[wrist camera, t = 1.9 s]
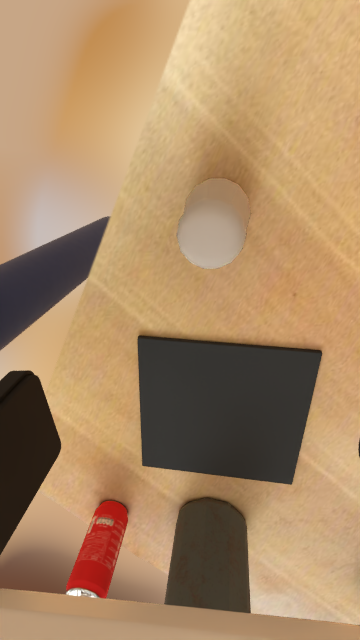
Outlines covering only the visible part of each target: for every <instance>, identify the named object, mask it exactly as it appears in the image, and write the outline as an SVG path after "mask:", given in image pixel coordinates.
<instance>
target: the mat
mask: <svg viewBox="0 0 360 640" xmlns="http://www.w3.org/2000/svg"><path fill="white" fill-rule="evenodd" d="M321 356H322V352H321V351H320V350H307V349H295V348H283V347H271V346H259V345H246V344H234V343H222V342H210V341H198V340H185V339H173V338H161V337H149V336H138V360H139V386H140V413H141V439H142V465H143V466H148V467H156V468H164V469H172V470H180V471H188V472H196V473H204V474H212V475H220V476H228V477H236V478H244V479H252V480H260V481H267V482H275V483H283V484H292V482H293V477H294V473H295V469H296V464H297V460H298V456H299V451H300V447H301V443H302V439H303V434H304V430H305V426H306V421H307V417H308V413H309V408H310V404H311V400H312V395H313V391H314V387H315V382H316V378H317V374H318V369H319V365H320V361H321Z"/></svg>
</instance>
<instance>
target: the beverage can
mask: <svg viewBox="0 0 360 640" xmlns="http://www.w3.org/2000/svg"><path fill="white" fill-rule="evenodd" d="M127 523H128V517H127V509H126V508H125V506H124V505H122V504H121V503H119V502H116V501H112V500H108V501H104V502H103V503H101V505H100V506H99V507H98V508H97V509H96V511H95V513H94V516H93V518H92V521H91V523H90V526H89V529H88V531H87V534H86V537H85V539H84V542H83V544H82V547H81V549H80V552H79V555H78V557H77V560H76V562H75V565H74V568H73V570H72V573H71V576H70V578H69V581H68V583H67V586H66V589H67V592H66V594H65V595H75V596H85V597H95V598H105V599H106V597H107V593H108V590H109V586H110V583H111V579H112V575H113V572H114V568H115V565H116V561H117V558H118V554H119V550H120V547H121V544H122V540H123V537H124V533H125V530H126V526H127Z"/></svg>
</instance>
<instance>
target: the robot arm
mask: <svg viewBox="0 0 360 640" xmlns="http://www.w3.org/2000/svg"><path fill="white" fill-rule="evenodd" d="M60 450H61V441H60V438H59V435H58V432H57V429H56V426H55V423H54V420H53V417H52V414H51V412H50V409H49V406H48V403H47V400H46V397H45V394H44V391H43V388H42V385H41V382H40V379H39V378H38V376H36V375H34V373H33V372H32V371H11V372H9V373H8V374H7V375H6V376H5V377H4V378H3V379H1V381H0V555H1V553H2V551H3V549H4V548H5V546H6V544H7V542H8V541H9V539H10V537H11V536H12V534H13V532H14V531H15V529H16V527H17V526H18V524H19V522H20V520H21V519H22V517H23V515H24V514H25V512H26V510H27V508H28V507H29V505H30V503H31V501H32V500H33V498H34V496H35V495H36V493H37V491H38V490H39V488H40V486H41V484H42V483H43V481H44V479H45V478H46V476H47V474H48V472H49V471H50V469H51V467H52V466H53V464H54V462H55V460H56V459H57V457H58V455H59V453H60ZM359 457H360V440H359ZM0 640H360V625H352V624H344V623H336V622H327V621H317V620H308V619H298V618H289V617H279V616H270V615H261V614H251V613H242V612H232V611H223V610H213V609H204V608H194V607H185V606H175V605H165V604H154V603H145V602H135V601H125V600H114V599H105V598H95V597H85V596H75V595H64V594H54V593H44V592H34V591H22V590H11V589H2V588H0Z"/></svg>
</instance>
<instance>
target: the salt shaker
mask: <svg viewBox="0 0 360 640" xmlns="http://www.w3.org/2000/svg"><path fill="white" fill-rule="evenodd" d="M250 215H251V210H250V205H249V200H248V197H247V195H246V194H245V192H244V191H243V190H242V188H241V187H240V186H239V185H238V184H236V183H234V182H232V181H230V180H228V179H226V178H211V179H207V180H206V181H204V182H202V183H200V184H198V185H197V186H195V187H194V189H193V190H192V192H191V193H190V194H189V196H188V197H187V199H186V202H185V208H184V214H183V215H182V216H181V218H180V219H179V224H178V230H177V239H178V243H179V247H180V251H181V252H182V254H183V255H184V256H185V257H186V258H187V259H188V260H189V262H190V263H192V264H194V265H196V266H199V267H201V268H203V269H218V268H220V267H223V266H225V265H227V264H229V263H231V262H232V261H233V260H234V259H235V258H236V256H237V255H238V254H239V253H240V251H241V250H242V249H243V245H244V242H245V238H246V234H247V233H246V228H247V226H248V222H249V219H250Z"/></svg>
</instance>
